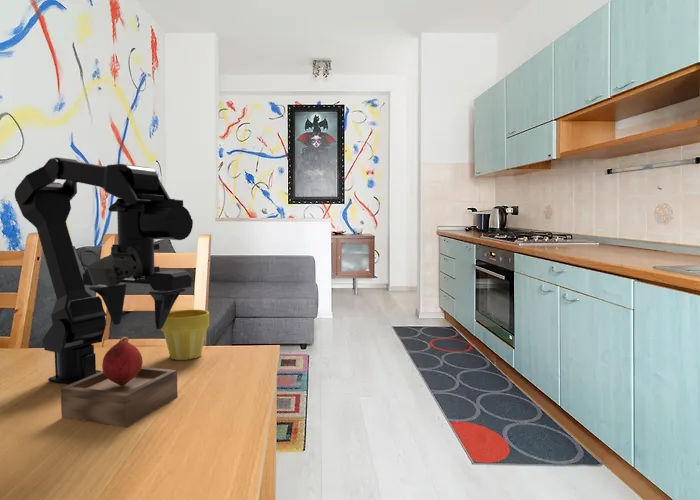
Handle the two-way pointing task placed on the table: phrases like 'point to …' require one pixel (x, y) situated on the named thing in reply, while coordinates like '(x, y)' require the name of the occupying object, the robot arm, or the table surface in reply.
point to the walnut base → (118, 397)
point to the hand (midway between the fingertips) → (137, 326)
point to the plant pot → (185, 333)
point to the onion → (122, 362)
